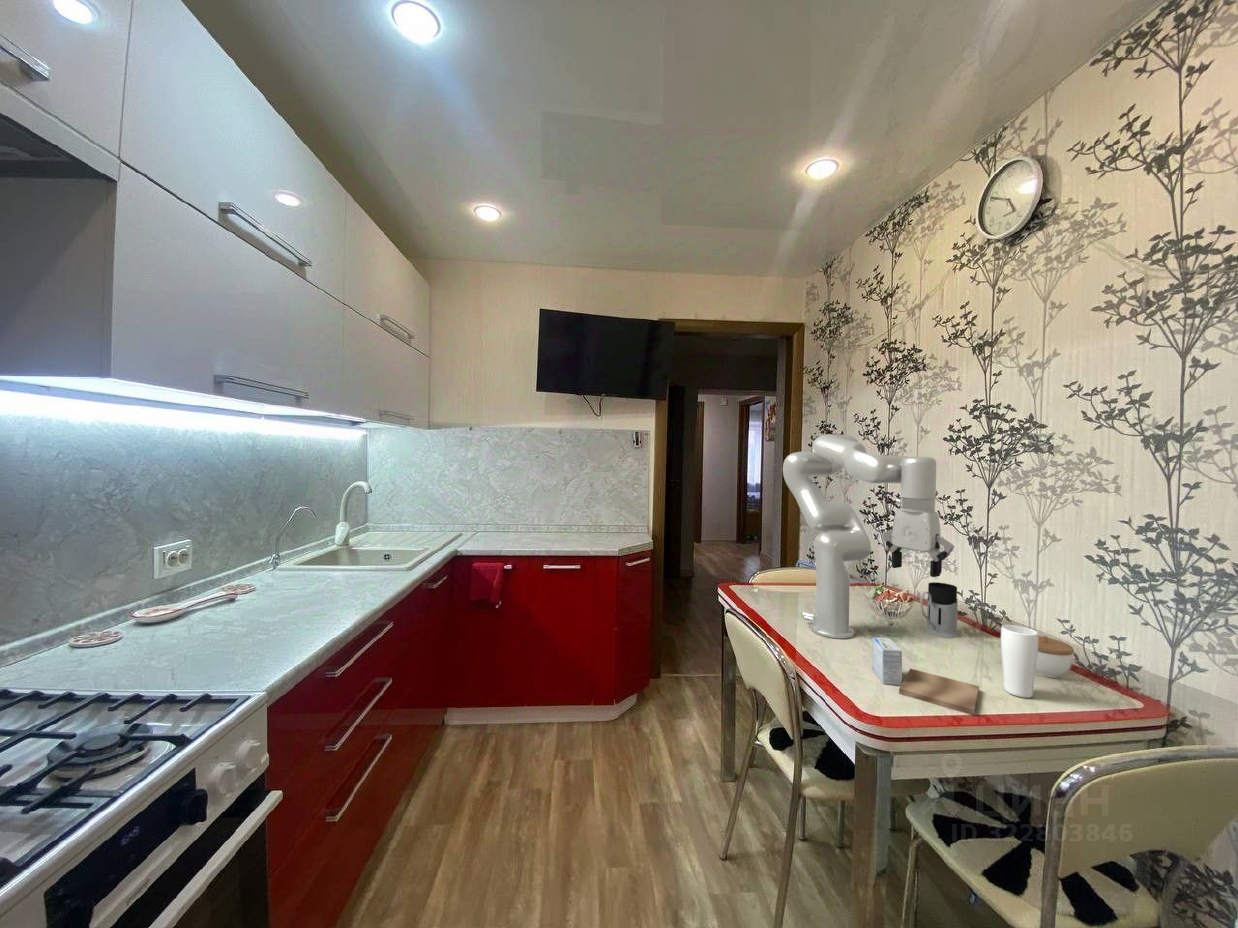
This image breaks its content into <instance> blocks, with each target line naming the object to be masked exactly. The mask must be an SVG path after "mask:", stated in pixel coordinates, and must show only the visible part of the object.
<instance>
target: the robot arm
mask: <svg viewBox="0 0 1238 928" xmlns="http://www.w3.org/2000/svg"><path fill="white" fill-rule="evenodd" d="M811 449H812V451H797V452H793V453H790V454H789V455H787V456H786V458H785V459H784V460H783V464H782V475H783V478H784V481H785V484H786V486H787V488H788V489H789V490H790V493H791V494H792V495H793V497H794V498H795V501H796V502H797V505H798V507H799V510H800V511H801V514H802V515H803V517H804V520H805V521H806V524H807V525H808V527H809V528H810V529H811V530H812V531H815V532H821V533H819V534H818V535H816V537H815V538H814V540H813V553H814V559H815V566H816V567H815V568H816V573H815V574H816V577H815V578H816V582H815V584H816V586H815V587H816V588H815V589H816V590H815V591H816V592H815V593H816V595H815V596H816V597H815V613H814V612H813V613H810V612H806V611H804V612H803V613H802V618H803V620H804V621H809V622H811V623H810V627H809V628H810V630H811V631H812V632H813V633H815V634H817V635H819V636H822V637H827V638H832V639H849V638H852V637H854V635H855V629H854V628H852V627H851V626H850V586H851V585H850V582H851V581H850V573H849V571H848V569H847V567H846V565H845V562H848V561H849V562H853V561H854V562H855V561H862V560H865V559H867V558H868V557H869V555H870V554H871V551H872V545H871V541H870V538H869V536H868V534H867V532H866V530H865V529H864V527H863V525H862V523H861V521H860V519H859V517H858V516H857V514H856V511H855V510H854V509H853V508H852V507H851V506H850V505H849V504H847V503H846V502H842V501H829V500H828V499H826V497H825V496H824V494H823V492H822V490H821V488H820V487H819V486H818V485H817V484H816V483H815V482H814V481H812V479H810V478H809V477H829V476H832V475H834V474H836V473H837V472H838V471H841V470H842V469H844V470H845V472H846V474H848V475H849V476H851V477H853V478H856V479H857V480H861V481H864V482H867V483H869V484H870V483H871V484H900V496H899V498H897V499H896V501H895V502H896V504H898V505H899V507H900V508H896V511H895V515H894V518H893V523H892V529H891V530H890V531H888V532H885V533H884V532H883V534H882V537H883V540H884V541H885V545H886V547H887V548H888V549H889V552H890V553H891V568H892V569H897V568H902V566H903V565H902V564H903V553H902V552H901V550H903V549H905V550H909V551H914V552H915V551H916V552H921V553H928V554H929V556H930V557H931V559H932V560H931V561H930V566H929V567H930V568H929V576H930V577H931V578H937V577H940V576H941V574H942V567H943V565H942V564H943V561H944V560H945V559H947V558H948V557H949V556H950V555H951V553H952V551H954V548H955V545H954V544H953V543H952V542H949V541H948V540H947V539H945V538H943V537H942V536H941V524H940V518H939V513H938V511H936V494H937V493H936V492H937V490H936V488H937V461H936V459H935V458H933V457H931V456H930V457H928V456H907V455H892V454H891V455H889V454H888V455H885V454H881V455H880V454H879V455H876V454H871V453H867V449H866V447H865V445H864V444H862V443H861V442H859V441H858V440H857V438H855V437H854V436H852V435H850V434H830V433H829V434H827V433H826V434H822V435H819V436H817V437H816V438H815V439H814V441H813V442H812V446H811ZM941 546H942V547H943V550H942V551H940V548H941Z"/></svg>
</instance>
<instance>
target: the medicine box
mask: <svg viewBox="0 0 1238 928" xmlns="http://www.w3.org/2000/svg"><path fill="white" fill-rule="evenodd" d="M871 656H872V661H871V662H872V663H871V664H872V665H871V666H872V667H871V669H872V672H874V674H875V675H876V676H877V678H878V679H879V681H880V683H882V684H883V685H890V686H899V687H900V686H901V684H902V682H903V651H902V649H901V648H900V647H899V646H898V645H897V644H896V643H895V642H894V641H893V640H892V639H891V638H886V637H873V638H872V655H871Z"/></svg>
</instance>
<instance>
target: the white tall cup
mask: <svg viewBox="0 0 1238 928" xmlns="http://www.w3.org/2000/svg"><path fill="white" fill-rule="evenodd" d="M1038 636H1039V633H1038V631H1037V630H1034V629H1032V628H1029V627H1025V626H1021V625H1014V624H1004V625H1003V624H1002V625H1001V629H1000V654H1001V665H1002V667H1001V668H1002V681H1003V683H1002V687H1003V690H1004V691H1005V692H1007V693H1008V694H1009V695H1011V696H1014V697H1017V698H1024V699H1030V698H1032V697H1033V696H1034V684H1035V677H1036V674H1035V671H1036V664H1037V657H1038V645H1039V641H1038Z"/></svg>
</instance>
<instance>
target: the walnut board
mask: <svg viewBox="0 0 1238 928" xmlns="http://www.w3.org/2000/svg"><path fill="white" fill-rule="evenodd" d="M979 693H980V686H979V685H976V684H973V683H968V682H964V681H961V680H956V679H953V678H949V677H945V676H941V675H937V674H933V673H929V672H925V671H921V670H917V669H913V668H909V670H908V671H907V673H906V676H905V677H904V679H903V680H902V684H901V686H899V688H898V694H899V695H903V696H906V697H910V698H912V699H913V698H914V699H917V700H920V701H924V702H926V703H931V704H933V705H937V706H941V707H943V708H947V709H951V710H953V711H958V712H961V713H965V714H968V715H971V716H975V713H976V708H977V704H978V703H977V702H978V697H979Z"/></svg>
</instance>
